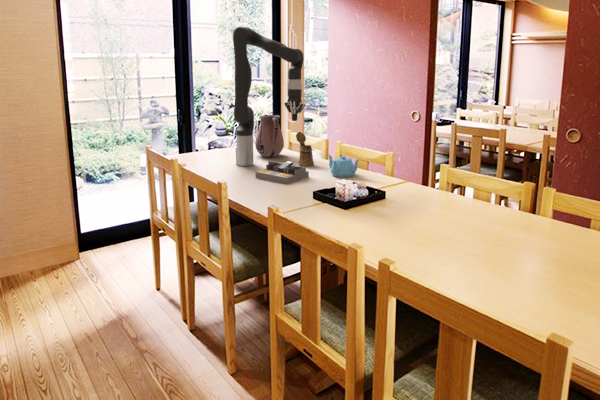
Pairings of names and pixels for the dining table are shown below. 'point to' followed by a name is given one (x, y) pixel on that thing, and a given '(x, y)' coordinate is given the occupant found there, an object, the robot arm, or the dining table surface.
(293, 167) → the rocker
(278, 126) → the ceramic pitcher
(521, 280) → the dining table surface
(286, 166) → the rocker
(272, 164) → the rocker
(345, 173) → the teapot
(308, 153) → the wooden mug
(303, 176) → the switch unit
